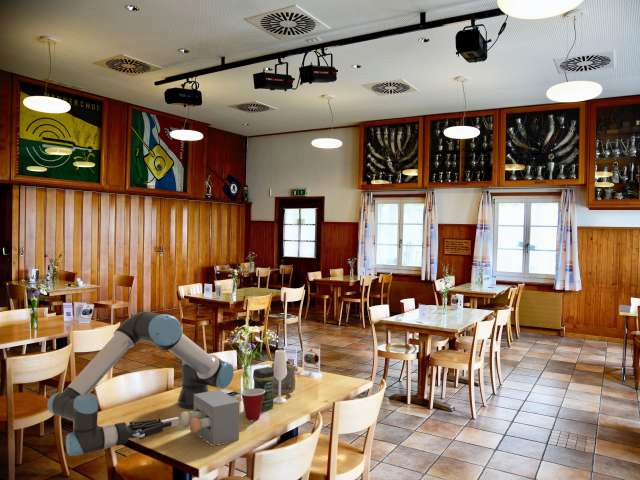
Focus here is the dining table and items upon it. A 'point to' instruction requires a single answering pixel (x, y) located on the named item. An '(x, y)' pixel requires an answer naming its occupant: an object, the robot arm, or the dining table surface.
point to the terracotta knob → (199, 424)
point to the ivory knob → (189, 417)
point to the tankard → (286, 379)
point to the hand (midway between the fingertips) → (178, 420)
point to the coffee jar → (265, 385)
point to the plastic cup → (252, 403)
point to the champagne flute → (280, 372)
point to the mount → (218, 416)
